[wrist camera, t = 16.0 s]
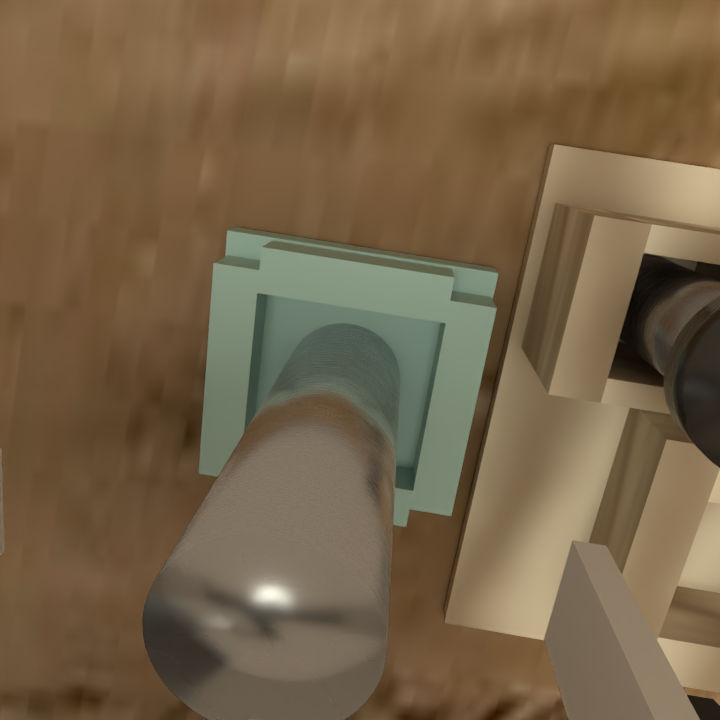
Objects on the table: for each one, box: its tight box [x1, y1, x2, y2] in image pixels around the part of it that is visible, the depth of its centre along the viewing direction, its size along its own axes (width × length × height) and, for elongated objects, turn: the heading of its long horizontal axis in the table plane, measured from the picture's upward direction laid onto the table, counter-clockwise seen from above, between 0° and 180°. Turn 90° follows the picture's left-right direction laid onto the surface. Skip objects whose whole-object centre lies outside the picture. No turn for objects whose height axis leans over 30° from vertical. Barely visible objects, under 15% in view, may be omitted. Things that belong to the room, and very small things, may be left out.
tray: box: [199, 227, 499, 527], centre depth 24 cm, size 10×10×3 cm
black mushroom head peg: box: [619, 256, 720, 468], centre depth 18 cm, size 4×4×9 cm
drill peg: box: [142, 323, 400, 720], centre depth 18 cm, size 4×4×14 cm
